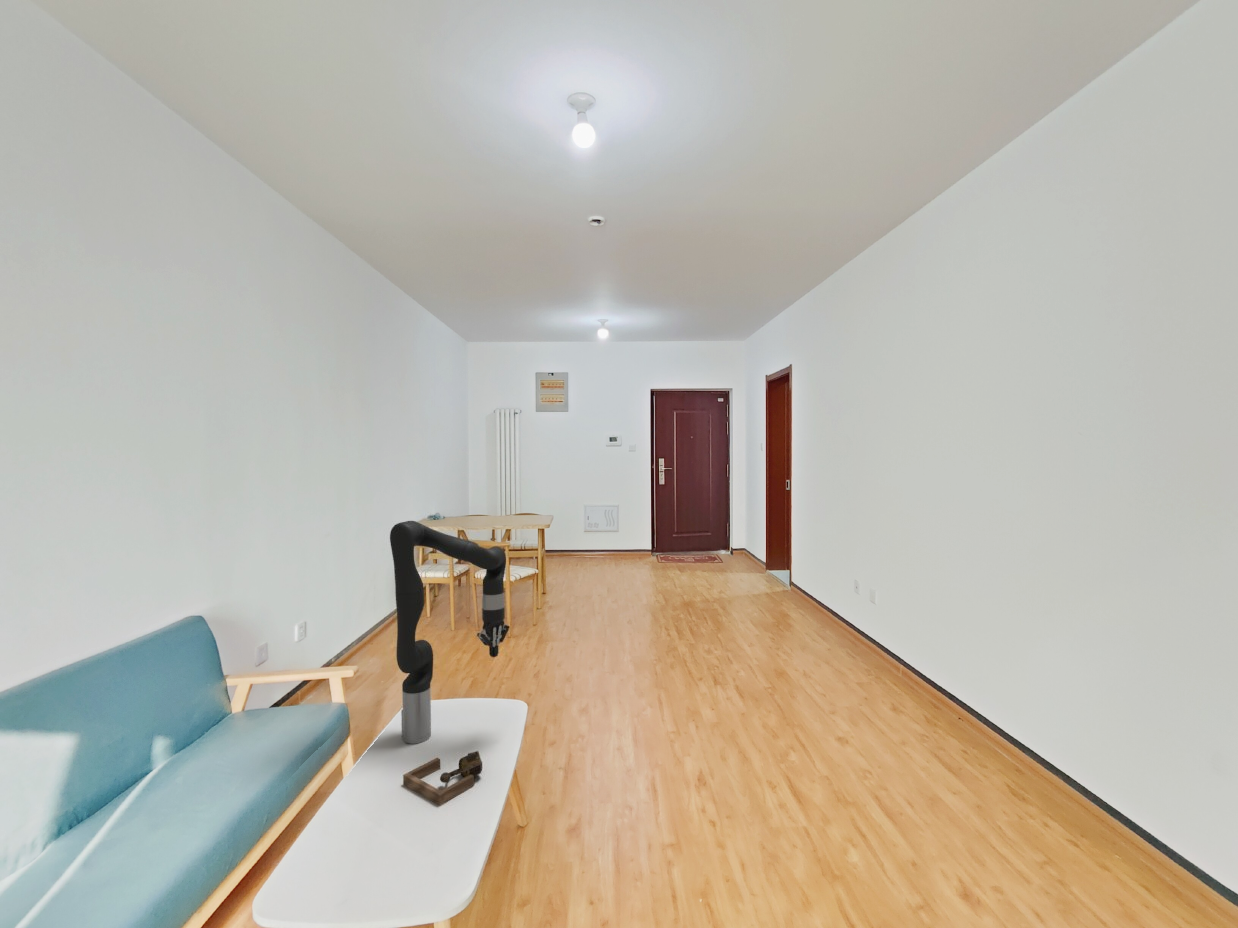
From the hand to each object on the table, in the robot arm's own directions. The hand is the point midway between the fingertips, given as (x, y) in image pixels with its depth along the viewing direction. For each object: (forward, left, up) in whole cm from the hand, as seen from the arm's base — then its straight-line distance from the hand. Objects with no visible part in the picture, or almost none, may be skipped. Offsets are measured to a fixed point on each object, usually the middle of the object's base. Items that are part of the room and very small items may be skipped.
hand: (493, 656), depth 199 cm
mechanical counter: (+7, -24, -29) cm, 38 cm away
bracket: (+7, -26, -29) cm, 40 cm away
